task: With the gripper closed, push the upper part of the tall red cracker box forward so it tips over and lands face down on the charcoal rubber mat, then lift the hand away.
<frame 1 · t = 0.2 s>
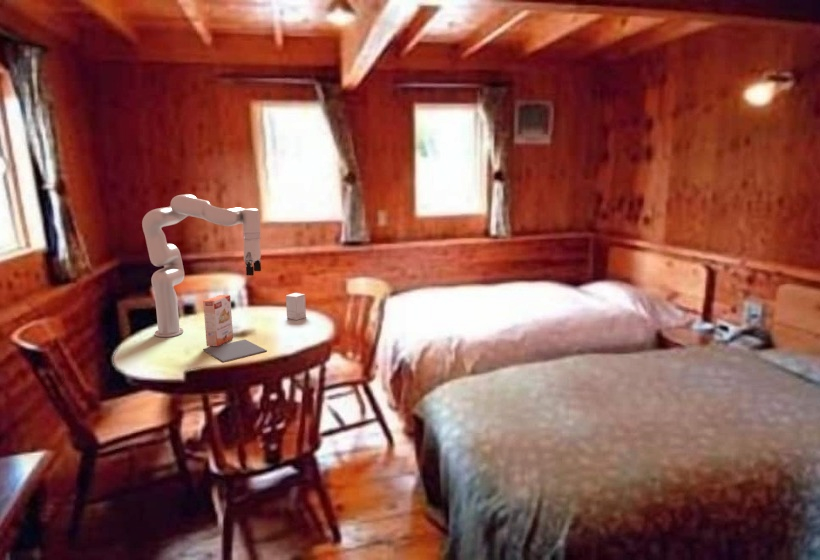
hand: (253, 273, 258), 31 cm above the table, tool pointing down, fingers open, 9 cm apart
supplement box: (296, 318, 297), on the table
cracker box: (220, 342, 256), on the table, touching mat
mat: (234, 350, 246), on the table
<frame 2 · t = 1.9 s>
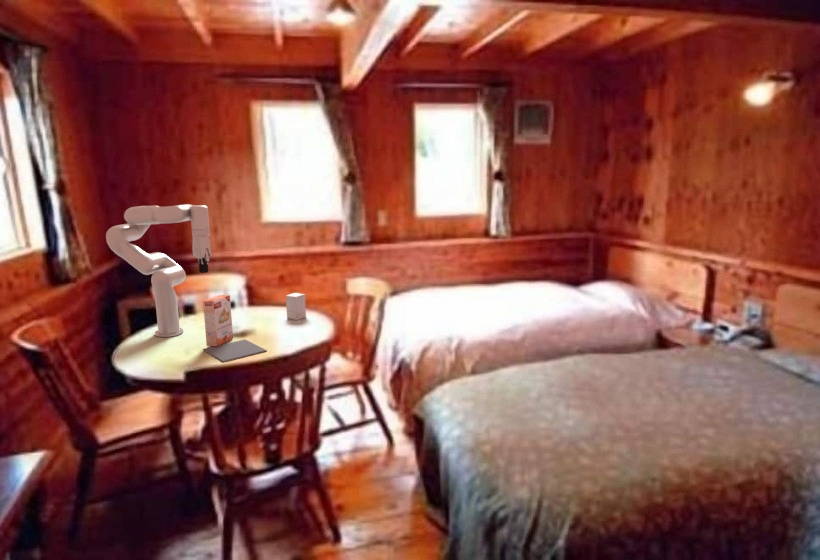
hand: (203, 272, 259), 31 cm above the table, tool pointing down, fingers closed
nothing on the table moved.
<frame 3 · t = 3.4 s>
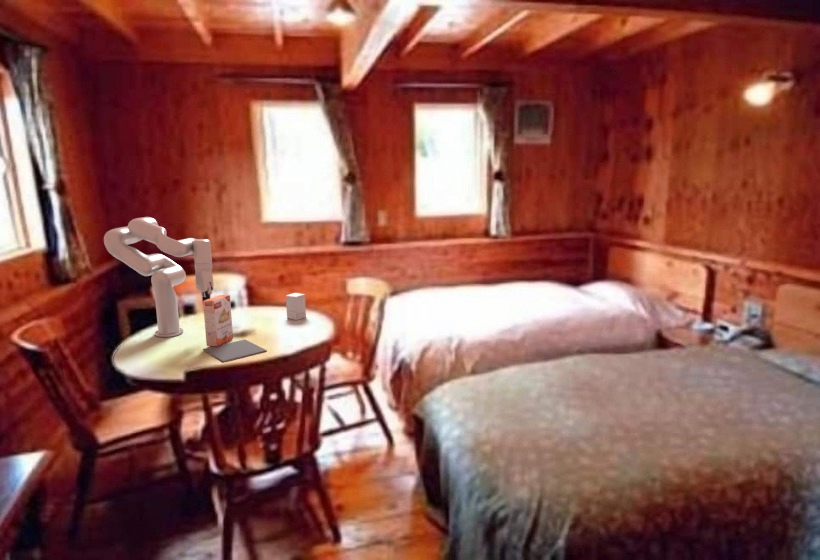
hand: (206, 304, 262), 16 cm above the table, tool pointing down, fingers closed
nothing on the table moved.
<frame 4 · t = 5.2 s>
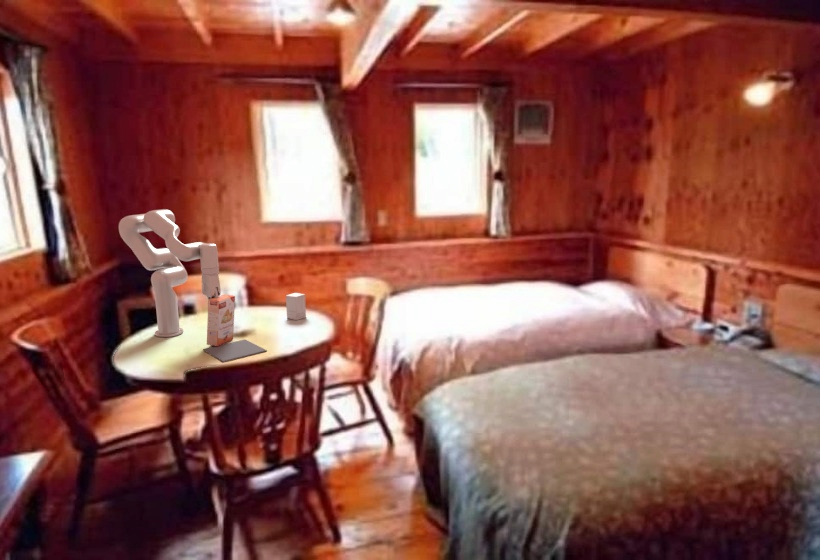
hand: (213, 310, 257), 14 cm above the table, tool pointing down, fingers closed
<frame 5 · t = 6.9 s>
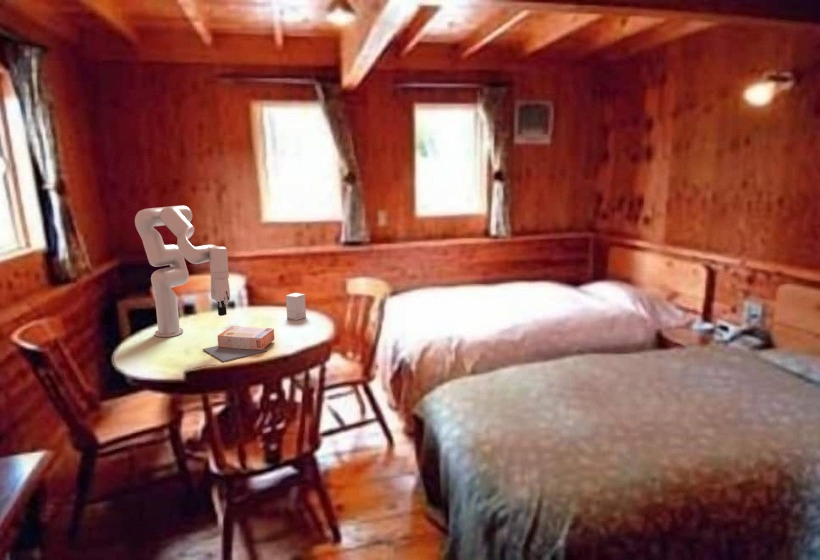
hand: (222, 314, 250), 14 cm above the table, tool pointing down, fingers closed
cracker box: (224, 336, 254), point 3 cm above the table, touching mat
everything else where it was.
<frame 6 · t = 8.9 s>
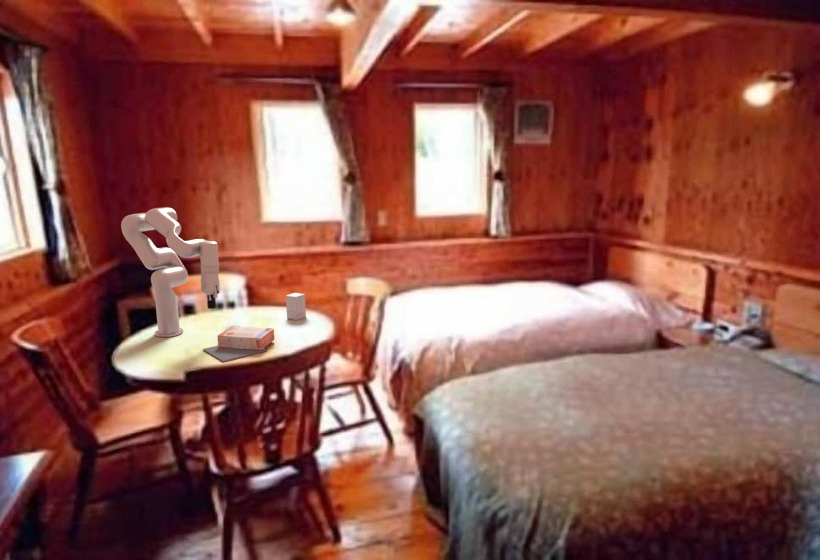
hand: (211, 308, 256), 16 cm above the table, tool pointing down, fingers closed
nothing on the table moved.
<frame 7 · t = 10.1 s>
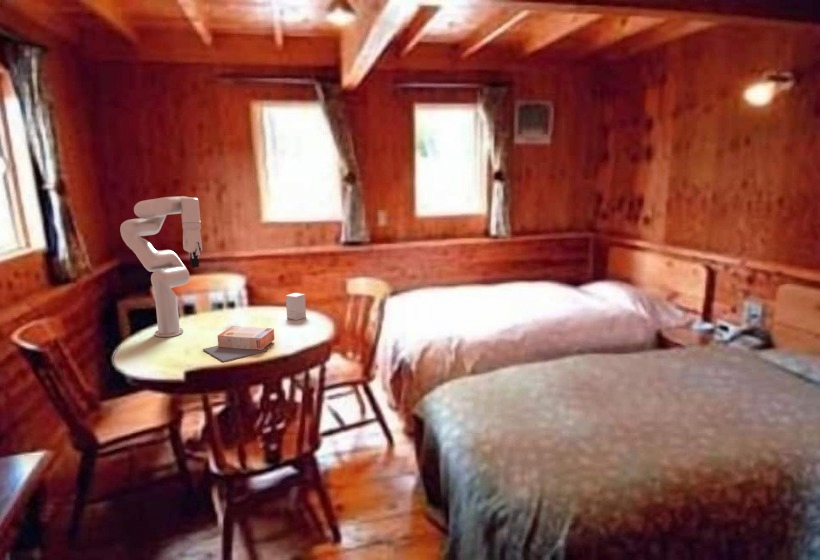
hand: (194, 266, 250), 35 cm above the table, tool pointing down, fingers closed
nothing on the table moved.
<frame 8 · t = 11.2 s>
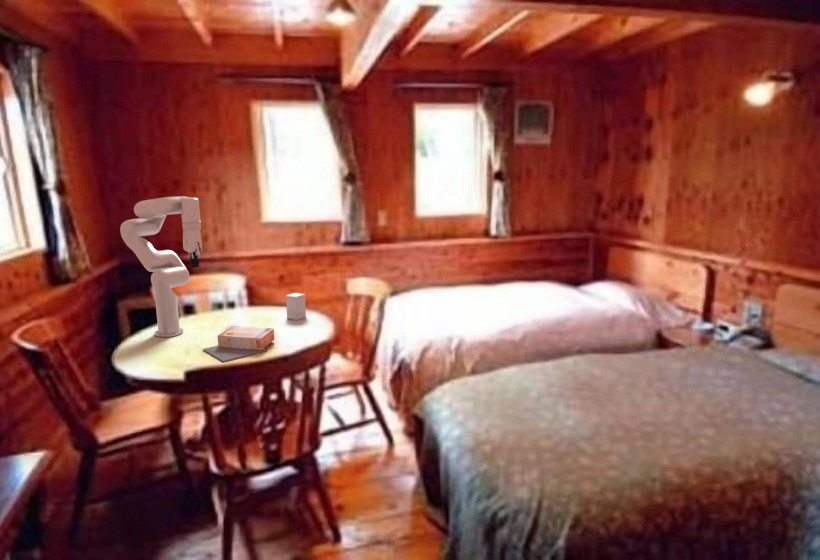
hand: (194, 266, 250), 35 cm above the table, tool pointing down, fingers closed
nothing on the table moved.
at the end: cracker box tilted 89°; cracker box touching mat; cracker box inside the target area (7.8 cm from its centre), point 3.4 cm above the table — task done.
